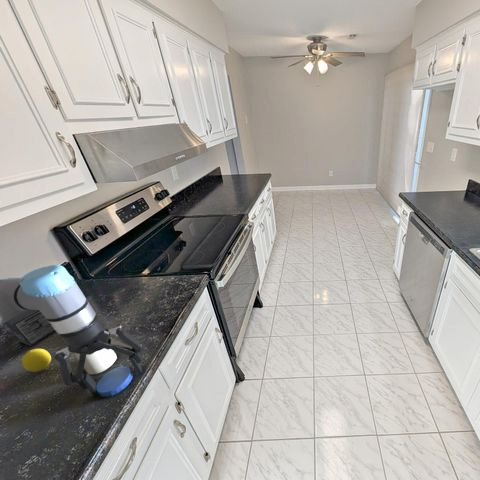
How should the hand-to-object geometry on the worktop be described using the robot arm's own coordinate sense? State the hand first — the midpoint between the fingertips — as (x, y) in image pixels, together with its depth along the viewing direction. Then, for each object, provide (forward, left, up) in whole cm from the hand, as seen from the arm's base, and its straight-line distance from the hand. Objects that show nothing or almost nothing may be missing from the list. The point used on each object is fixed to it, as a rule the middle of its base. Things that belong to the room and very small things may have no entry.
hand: (119, 380), depth 73 cm
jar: (-5, +11, 0) cm, 12 cm away
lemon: (-20, +20, -1) cm, 28 cm away
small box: (-24, +41, -1) cm, 48 cm away
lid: (-1, 0, +1) cm, 1 cm away
